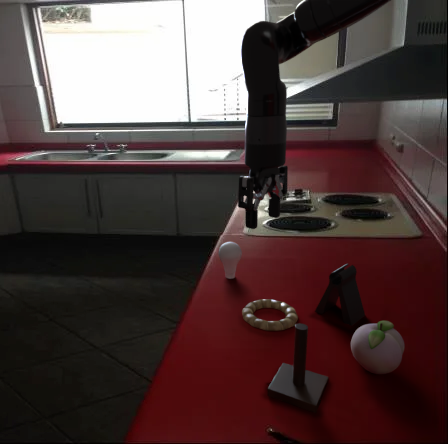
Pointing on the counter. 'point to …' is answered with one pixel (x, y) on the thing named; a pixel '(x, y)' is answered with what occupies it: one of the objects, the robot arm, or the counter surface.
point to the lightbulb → (230, 258)
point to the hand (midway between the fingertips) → (263, 222)
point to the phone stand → (343, 295)
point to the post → (298, 377)
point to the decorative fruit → (378, 347)
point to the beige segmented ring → (270, 325)
